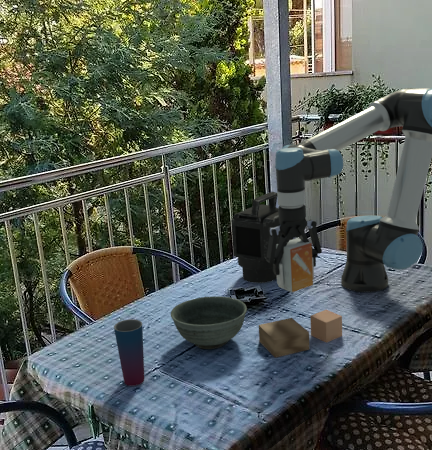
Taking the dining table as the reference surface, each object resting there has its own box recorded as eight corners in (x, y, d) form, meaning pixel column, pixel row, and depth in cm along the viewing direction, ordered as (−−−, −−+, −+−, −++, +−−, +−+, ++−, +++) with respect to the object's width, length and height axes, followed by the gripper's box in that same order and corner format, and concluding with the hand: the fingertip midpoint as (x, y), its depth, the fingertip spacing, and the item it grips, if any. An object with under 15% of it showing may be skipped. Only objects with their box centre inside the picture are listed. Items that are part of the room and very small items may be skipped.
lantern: (253, 266, 219) (249, 188, 211) (296, 274, 209) (293, 192, 201) (230, 280, 207) (225, 197, 199) (274, 289, 197) (271, 202, 189)
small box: (292, 293, 164) (289, 249, 160) (277, 287, 169) (275, 244, 165) (314, 285, 168) (312, 242, 164) (299, 279, 173) (297, 237, 169)
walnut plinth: (292, 334, 165) (291, 317, 163) (309, 349, 155) (309, 332, 154) (259, 341, 161) (258, 324, 160) (275, 357, 152) (274, 340, 151)
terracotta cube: (326, 329, 166) (326, 309, 165) (342, 336, 162) (342, 316, 160) (310, 335, 163) (310, 315, 162) (326, 343, 158) (326, 322, 157)
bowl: (193, 368, 150) (190, 332, 147) (161, 337, 168) (158, 304, 165) (262, 346, 159) (261, 312, 156) (225, 319, 177) (224, 288, 174)
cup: (121, 375, 149) (115, 320, 145) (148, 372, 149) (142, 318, 145) (119, 389, 142) (112, 332, 138) (147, 386, 143) (141, 330, 139)
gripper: (319, 196, 168) (322, 269, 175) (250, 208, 162) (255, 284, 168) (333, 201, 161) (335, 277, 168) (261, 214, 155) (266, 293, 161)
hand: (295, 281), depth 168 cm, fingers closed on small box, 9 cm apart
